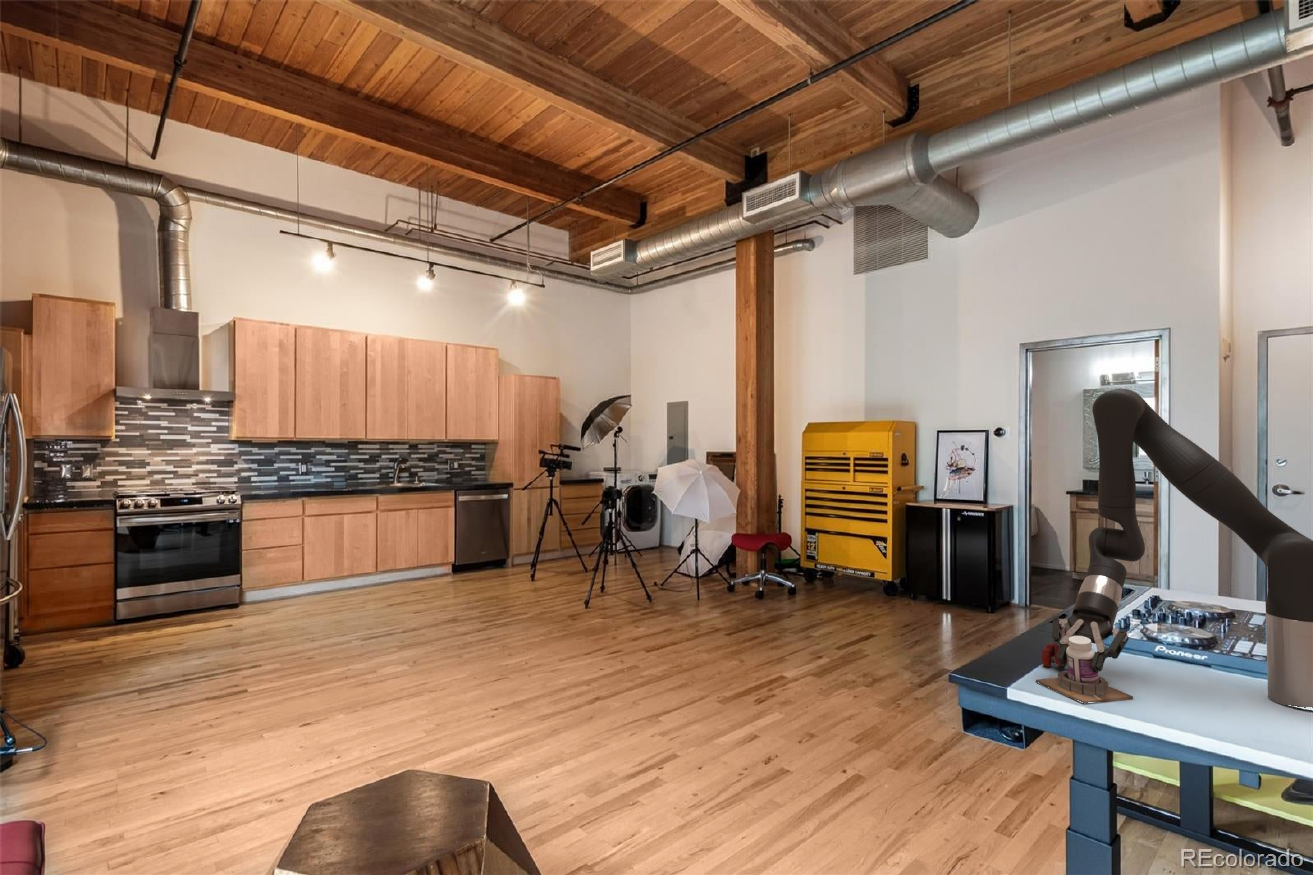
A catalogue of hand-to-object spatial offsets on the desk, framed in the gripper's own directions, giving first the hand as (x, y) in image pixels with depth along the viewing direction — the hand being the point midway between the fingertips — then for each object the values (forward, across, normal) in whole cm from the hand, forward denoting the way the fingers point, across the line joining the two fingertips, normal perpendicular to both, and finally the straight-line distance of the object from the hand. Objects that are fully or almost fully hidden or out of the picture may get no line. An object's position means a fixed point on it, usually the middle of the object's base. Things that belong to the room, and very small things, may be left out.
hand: (1077, 666), depth 130 cm
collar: (+2, 0, +6) cm, 6 cm away
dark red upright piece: (-8, -9, +16) cm, 19 cm away
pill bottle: (+1, 0, +5) cm, 5 cm away
